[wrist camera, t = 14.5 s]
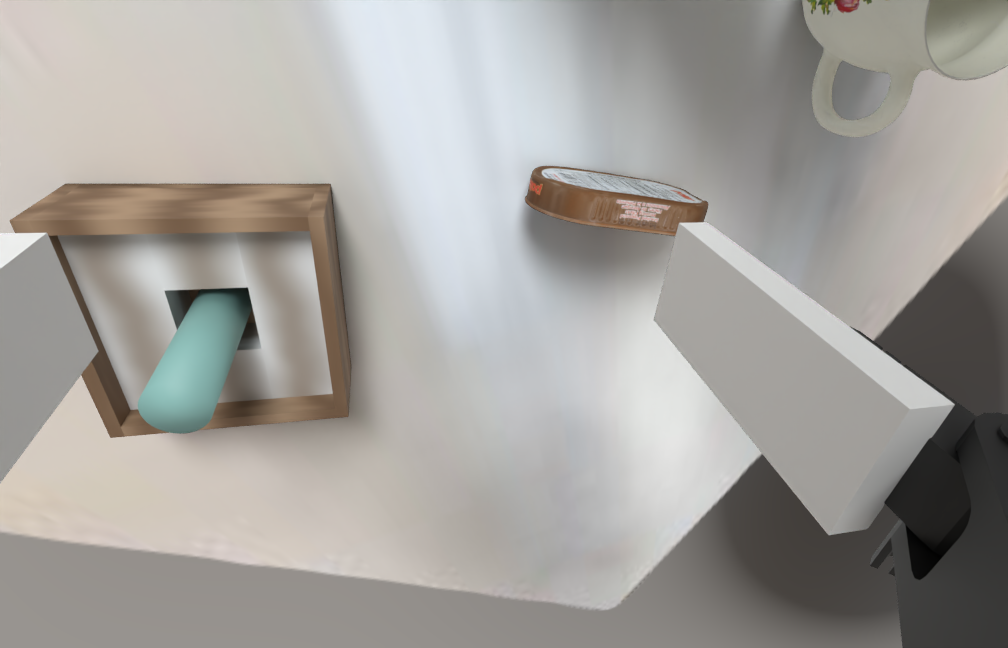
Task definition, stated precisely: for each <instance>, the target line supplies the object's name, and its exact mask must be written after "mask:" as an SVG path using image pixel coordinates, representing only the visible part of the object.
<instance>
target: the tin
mask: <svg viewBox="0 0 1008 648" xmlns="http://www.w3.org/2000/svg"><path fill="white" fill-rule="evenodd" d="M525 201H526V203H527V204H528V205H529V206H530V207H532V208H533V209H535V210H537V211H539V212H542V213H544V214H546V215H549V216H552V217H555V218H558V219H562V220H565V221H569V222H574V223H579V224H584V225H590V226H597V227H606V228H614V229H622V230H631V231H639V232H647V233H655V234H663V235H670V236H676V232H677V229H678V225H679V223H698V222H703V221H704V218H705V215H706V212H707V209H708V202H707V201H703V200H701V199H699V198H697V197H695V196H693V195H691V194H690V193H688V192H687V191H685V190H683V189H681V188H678V187H674V186H671V185H667V184H663V183H659V182H655V181H650V180H645V179H638V178H632V177H626V176H620V175H614V174H609V173H602V172H596V171H589V170H582V169H574V168H567V167H557V166H542V167H538V168H535V169H534V170H533V172H532V175H531V179H530V184H529V189H528V194H527V196H526V197H525Z"/></svg>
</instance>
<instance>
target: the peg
mask: <svg viewBox="0 0 1008 648" xmlns="http://www.w3.org/2000/svg"><path fill="white" fill-rule="evenodd" d="M251 310H252V303H251V299H250V294H249V290H248V287H246V288H220V289H200V290H199V292H198V294H197V296H196V297H195V299H194V301H193V303H192V305H191V306H190V308H189V310H188V312H187V314H186V315H185V317H184V319H183V321H182V323H181V324H180V326H179V328H178V330H177V332H176V333H175V335H174V337H173V339H172V340H171V342H170V344H169V346H168V348H167V349H166V351H165V353H164V355H163V357H162V358H161V360H160V362H159V364H158V366H157V367H156V369H155V371H154V373H153V375H152V376H151V378H150V380H149V382H148V384H147V385H146V387H145V389H144V391H143V392H142V394H141V396H140V398H139V400H138V410H139V413H140V415H141V416H142V418H143V419H144V420H145V421H146V422H147V423H148V424H150V425H151V426H153V427H155V428H157V429H159V430H162V431H165V432H170V433H190V432H194V431H197V430H199V429H201V428H203V427H205V426H206V425H207V424H208V423H209V422H210V420H211V419H212V416H213V413H214V411H215V408H216V405H217V403H218V400H219V397H220V394H221V392H222V389H223V386H224V383H225V381H226V378H227V375H228V372H229V370H230V367H231V364H232V362H233V359H234V356H235V353H236V351H237V348H238V345H239V342H240V340H241V337H242V334H243V332H244V329H245V326H246V323H247V321H248V318H249V315H250V312H251Z"/></svg>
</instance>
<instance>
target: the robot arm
mask: <svg viewBox="0 0 1008 648" xmlns="http://www.w3.org/2000/svg"><path fill="white" fill-rule="evenodd" d="M654 321H655V322H656V323H657V324H658V326H659V327H660V328H661V329H662V331H663V332H664V333H665V334H666V336H667V337H668V338H669V339H670V340H671V342H672V343H673V344H674V345H675V347H676V348H677V349H678V350H679V352H680V353H681V354H682V355H683V356H684V358H685V359H686V360H687V361H688V363H689V364H690V365H691V366H692V368H693V369H694V370H695V371H696V372H697V374H698V375H699V376H700V377H701V379H702V380H703V381H704V382H705V384H706V385H707V386H708V387H709V388H710V390H711V391H712V392H713V393H714V395H715V396H716V397H717V398H718V400H719V401H720V402H721V403H722V404H723V406H724V407H725V408H726V409H727V411H728V412H729V413H730V414H731V416H732V417H733V418H734V419H735V420H736V422H737V423H738V424H739V425H740V427H741V428H742V429H743V430H744V432H745V433H746V434H747V435H748V436H749V438H750V439H751V440H752V441H753V443H754V444H755V445H756V446H757V448H758V449H759V450H760V451H761V452H762V454H763V455H764V456H765V457H766V459H767V460H768V461H769V462H770V464H771V465H772V466H773V467H774V468H775V470H776V471H777V472H778V473H779V474H780V476H781V477H782V478H783V479H784V481H785V482H786V483H787V484H788V486H789V487H790V488H791V489H792V491H793V492H794V493H795V494H796V495H797V497H798V498H799V499H800V500H801V502H802V503H803V504H804V505H805V507H806V508H807V509H808V510H809V511H810V513H811V514H812V515H813V516H814V518H815V519H816V520H817V521H818V523H819V524H820V525H821V526H822V527H823V529H824V530H825V531H826V532H827V534H829V535H832V534H839V533H845V532H851V531H857V530H863V529H868V527H869V526H870V525H871V523H872V522H873V520H874V519H875V517H876V516H877V515H878V513H879V512H880V510H881V509H882V508H883V506H884V505H885V504H886V505H887V506H888V507H889V508H890V509H891V510H892V511H893V512H894V513H895V514H896V515H897V516H898V517H899V518H900V519H899V521H898V522H897V523H896V525H895V526H894V527H893V529H892V530H891V532H890V533H889V534H888V536H887V537H886V538H885V540H884V541H883V542H882V544H881V545H880V546H879V548H878V549H877V551H876V552H875V553H874V554H873V556H872V560H871V564H870V566H873V567H875V568H878V567H879V566H880V565H881V563H882V562H883V561H884V559H885V558H886V557H887V556H893V560H894V565H893V567H892V568H891V569H890V570H889V574H892V575H894V576H895V580H896V589H897V598H898V608H899V618H900V626H901V636H902V646H903V648H1008V415H1007V414H1002V413H983V414H981V415H979V416H975V415H974V414H972V413H971V412H970V411H968V410H967V409H966V408H964V407H963V406H962V405H960V404H959V403H957V402H956V401H955V400H953V399H952V398H950V397H949V396H948V395H946V394H945V393H944V392H942V391H941V390H939V389H938V388H937V387H935V386H934V385H933V384H931V383H930V382H929V381H927V380H926V379H924V378H923V377H922V376H920V375H919V374H918V373H916V372H915V371H914V370H912V369H911V368H909V367H908V366H907V365H901V361H900V360H898V359H897V358H896V357H894V356H893V355H892V354H890V353H889V352H887V351H883V350H882V347H881V346H879V345H878V344H877V343H875V342H874V341H872V340H871V339H870V338H868V337H867V336H866V335H864V334H863V333H861V332H860V331H858V330H856V329H854V328H852V327H850V326H848V325H846V324H845V323H844V322H842V321H841V320H840V319H838V318H837V317H836V316H834V315H833V314H831V313H830V312H829V311H827V310H826V309H825V308H823V307H822V306H821V305H819V304H818V303H817V302H815V301H814V300H812V299H811V298H810V297H808V296H807V295H806V294H804V293H803V292H802V291H800V290H799V289H798V288H796V287H795V286H793V285H792V284H791V283H789V282H788V281H787V280H785V279H784V278H783V277H781V276H780V275H779V274H777V273H776V272H774V271H773V270H772V269H770V268H769V267H768V266H766V265H765V264H764V263H762V262H761V261H759V260H758V259H757V258H755V257H754V256H753V255H751V254H750V253H749V252H747V251H746V250H745V249H743V248H742V247H740V246H739V245H738V244H736V243H735V242H734V241H732V240H731V239H730V238H728V237H727V236H726V235H724V234H723V233H721V232H720V231H719V230H717V229H716V228H715V227H713V226H712V225H711V224H709V223H708V222H698V223H679V225H678V229H677V232H676V236H675V240H674V244H673V248H672V252H671V255H670V259H669V263H668V267H667V271H666V274H665V278H664V282H663V286H662V290H661V294H660V297H659V301H658V305H657V309H656V313H655V316H654ZM97 353H98V349H97V346H96V344H95V342H94V339H93V337H92V335H91V333H90V330H89V328H88V326H87V323H86V321H85V319H84V316H83V314H82V312H81V310H80V307H79V305H78V303H77V300H76V298H75V296H74V294H73V291H72V289H71V287H70V284H69V282H68V280H67V277H66V275H65V273H64V271H63V268H62V266H61V264H60V261H59V259H58V257H57V254H56V252H55V250H54V248H53V245H52V243H51V241H50V238H49V236H48V234H47V233H0V483H1V481H2V480H3V479H4V477H5V476H6V475H7V473H8V472H9V471H10V469H11V468H12V467H13V465H14V464H15V463H16V461H17V460H18V459H19V457H20V456H21V455H22V453H23V452H24V451H25V449H26V448H27V447H28V445H29V444H30V442H31V441H32V440H33V438H34V437H35V436H36V434H37V433H38V432H39V430H40V429H41V428H42V426H43V425H44V424H45V422H46V421H47V420H48V418H49V417H50V416H51V414H52V413H53V412H54V410H55V409H56V408H57V406H58V405H59V404H60V402H61V401H62V400H63V398H64V397H65V396H66V394H67V393H68V392H69V390H70V389H71V387H72V386H73V385H74V383H75V382H76V381H77V379H78V378H79V377H80V375H81V374H82V373H83V371H84V370H85V369H86V367H87V366H88V365H89V363H90V362H91V361H92V359H93V358H94V357H95V355H96V354H97Z"/></svg>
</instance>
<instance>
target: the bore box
mask: <svg viewBox="0 0 1008 648" xmlns="http://www.w3.org/2000/svg"><path fill="white" fill-rule="evenodd" d="M10 223H11V225H12V227H13V229H14V231H15V233H47V234H48V236H49V238H50V241H51V243H52V245H53V248H54V250H55V252H56V254H57V257H58V259H59V261H60V264H61V266H62V268H63V271H64V273H65V275H66V277H67V280H68V282H69V284H70V287H71V289H72V291H73V294H74V296H75V298H76V300H77V303H78V305H79V307H80V310H81V312H82V314H83V316H84V319H85V321H86V323H87V326H88V328H89V330H90V333H91V335H92V337H93V339H94V342H95V344H96V346H97V349H98V353H97V354H96V355H95V357H94V358H93V359H92V361H91V362H90V363H89V365H88V366H87V367H86V369H85V370H84V371H83V373H82V374H81V375H82V377H83V380H84V382H85V384H86V386H87V388H88V390H89V393H90V395H91V397H92V399H93V401H94V403H95V405H96V408H97V410H98V412H99V414H100V416H101V418H102V420H103V423H104V425H105V427H106V429H107V431H108V433H109V435H110V438H113V437H125V436H136V435H147V434H158V433H170V432H165V431H162V430H159V429H157V428H155V427H153V426H151V425H150V424H148V423H147V422H146V421H145V420H144V419H143V418H142V416H141V415H140V413H139V410H138V400H139V398H140V396H141V394H142V392H143V391H144V389H145V387H146V385H147V384H148V382H149V380H150V378H151V376H152V375H153V373H154V371H155V369H156V367H157V366H158V364H159V362H160V360H161V358H162V357H163V355H164V353H165V351H166V349H167V348H168V346H169V344H170V342H171V340H172V339H173V337H174V335H175V333H176V332H177V330H178V328H179V326H180V324H181V323H182V321H183V319H184V317H185V315H186V314H187V312H188V310H189V308H190V306H191V305H192V303H193V301H194V299H195V297H196V296H197V294H198V292H199V290H200V289H220V288H246V287H248V290H249V294H250V299H251V303H252V310H251V312H250V315H249V318H248V321H247V323H246V326H245V329H244V332H243V334H242V337H241V340H240V342H239V345H238V348H237V351H236V353H235V356H234V359H233V362H232V364H231V367H230V370H229V372H228V375H227V378H226V381H225V383H224V386H223V389H222V392H221V394H220V397H219V400H218V403H217V405H216V408H215V411H214V413H213V416H212V419H211V420H210V422H209V423H208V424H207V425H206V426H205V427H203V428H201V429H199V430H204V429H215V428H226V427H238V426H249V425H260V424H271V423H283V422H294V421H305V420H317V419H328V418H339V417H348V415H349V398H350V381H351V360H350V352H349V343H348V334H347V325H346V316H345V308H344V299H343V290H342V281H341V272H340V263H339V255H338V246H337V237H336V228H335V219H334V210H333V202H332V193H331V184H65V185H63V186H62V187H60V188H59V189H57V190H56V191H54V192H52V193H51V194H49V195H48V196H46V197H45V198H43V199H42V200H40V201H39V202H37V203H36V204H34V205H33V206H31V207H30V208H28V209H27V210H25V211H23V212H22V213H20V214H19V215H17V216H16V217H14V218H13V219H11V220H10Z"/></svg>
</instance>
